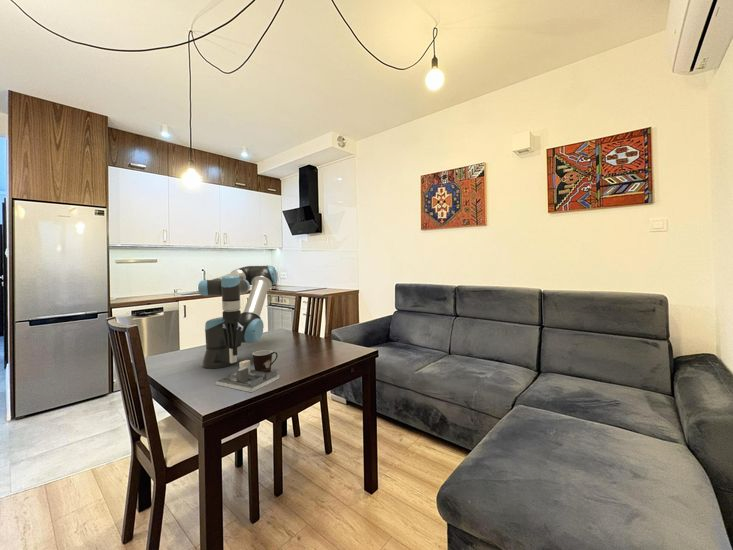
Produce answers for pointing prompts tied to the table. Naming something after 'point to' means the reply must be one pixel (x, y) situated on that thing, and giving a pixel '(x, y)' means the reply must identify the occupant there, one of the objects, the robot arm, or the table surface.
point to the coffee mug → (263, 360)
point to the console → (250, 380)
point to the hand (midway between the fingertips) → (233, 362)
